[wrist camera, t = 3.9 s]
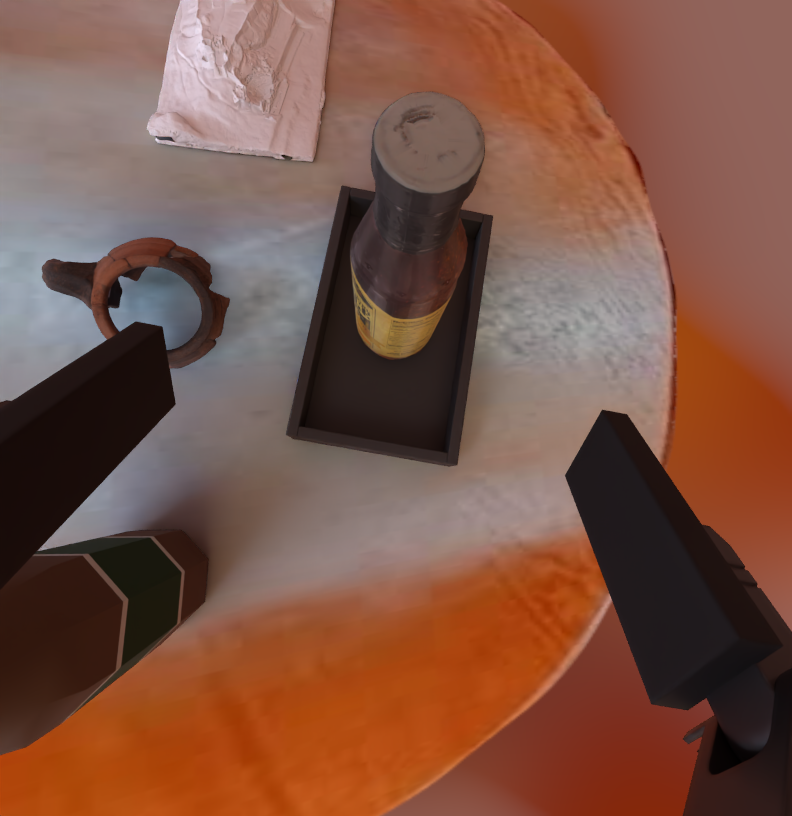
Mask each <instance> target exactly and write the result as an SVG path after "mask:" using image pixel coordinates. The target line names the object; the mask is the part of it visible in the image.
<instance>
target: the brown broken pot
mask: <svg viewBox="0 0 792 816" xmlns="http://www.w3.org/2000/svg"><path fill="white" fill-rule="evenodd" d="M170 257H174V258H170ZM148 266H149V267H158V268H164V269H167V270H170V271H172V272H174V273H176V274H178V275H179V276H181V277H182V278H183V279H184V280H186V281H187V282H188V283H189V284H190V286H191V287H192V288H193V289H194V291H195V292H196V294H197V296H198V297H199V300H200V303H201V310H202V319H201V323H200V326H199V328H198V331H197V332H196V334H195V335H194V336H193V337H192V338H191V339H190V340H189V341H188V342H187V343H185V344H184V345H182V346H180V347H178V348H175V349H172V350H166V351H167V356H168V362H169V368H181V367H184V366H186V365H189V364H191V363H193V362H195V361H196V360H198V359H200V358H201V357H203V356H204V355H206V354H207V353H208V352H209V351H210V350H211V349H212V348H213V347H214V346H215V345H216V341H215V339H216V338H218V337H219V336H220V335H221V333H222V330H223V324H224V318H225V314H226V311H227V308H228V306H229V303H230V298H226V297H224V296H222V295H220V294H217V293H214V292H213V291H211V290H210V289H209V287H210V285H211V283H212V274H211V272H210V268H211V266H210V264H209V263H208V262H207V261H206V260H205V259H203V258H202V257H200V256H199V255H198V254H197V253H195V252H194V251H192V250H190V249H187V248H184V247H181V246H177V245H176V244H175V243H174V242H173V241H171V240H168V239H163V238H152V237H151V238H142V239H137V240H133V241H130V242H127V243H125V244H122V245H120V246H118V247H116V248H114V249H113V250H111V251H110V252H109V253H108V256H106V257H103V258H102V259H101V260H100V261H98V262H94V263H78V262H63V261H60V260H56V259H51V260H48V261H47V262H46V263H45V264H44V265H43V266H42V272H43V275H42V278H43V280H44V282H45V283H46V285H47V287H48V288H50V289H52V290H54V291H57V292H60V293H63V294H66V295H70V296H73V297H76V298H78V299H80V300H82V301H83V302H84V303H85V304H86V305H87V306H88V307H89V308H90V309H91V310H92V311H93V316H94V318H95V321H96V323H97V325H98V327H99V329H100V331H101V333H102V334H103V335H104V336H105V338H106V339H107V340H108V339H109V338H111V337H113V336H114V335H116V334H117V333H119V331H118V329H117V328H116V327H115V325H114V323H113V321H112V319H111V317H110V314H109V310H108V308H110V307H111V308H118V307H119V305H120V297H121V295H122V288H121V286H120V283H119V281H118V277H120V276H121V275H122V276H124V277H129V278H130V279H132V280H134V281H138V279H139V278H140V276H141V274H142V272H143V271H144V270H145V269H146V268H147V267H148Z"/></svg>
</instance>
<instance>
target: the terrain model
mask: <svg viewBox="0 0 792 816" xmlns="http://www.w3.org/2000/svg"><path fill="white" fill-rule="evenodd" d="M334 7H335V0H180V5H179V8H178V10H177V13H176V14H175V16H176V18H175V21H174V25H173V28H172V31H171V36H170V43H169V48H168V52H167V60H166V65H165V71H164V77H163V86H162V90H161V93H160V97H159V104H158V110H157V111H156V113H154V114H153V115H152V117H151V118H150V120H149V123H148V130H149V132H150V134H151V135H153V136H156V139H155V141H157V142H158V144H159V143H161V144H164V143H165V144H167V145H168V144H169V145H176V146H182V147H183V146H185V147H190V148H197V149H207V150H214V151H222V152H227V153H229V152H231V153H237V154H238V153H241V154H246V155H249V154H251V155H254V154H255V155H256V156H272V157H274V158H275V159H284V158H283V157H282V156H281V155H285V156H286V155H287V156H290V157H292V159H290V160H298V161H308V162H309V161H310V162H313V159H314V156H315V152H316V146H317V141H318V136H319V135H318V134H319V128H320V125H319V124H321V123H322V122H321V120H320V119H321V114H322V112H321V110H322V107H323V106H324V101H325V92H324V86H325V80H326V79H325V74H326V68H327V61H328V53H329V47H330V46H329V44H330V36H331V28H332V21H333V13H334ZM323 108H324V107H323ZM146 129H147V128H146ZM157 136H160V137H172V138H173V140H174V141H176V142H173V141H169V140H158V139H157ZM284 160H286V159H284Z"/></svg>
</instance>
